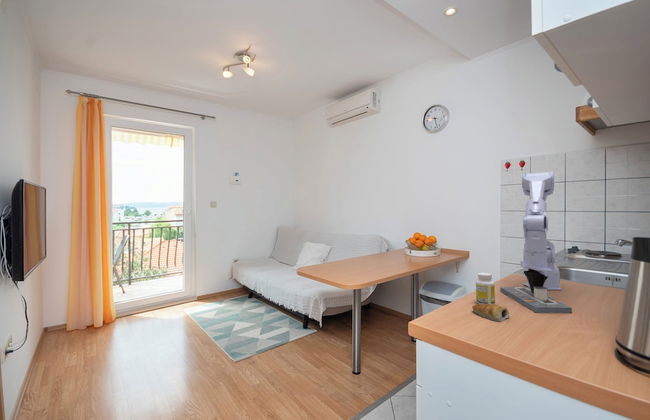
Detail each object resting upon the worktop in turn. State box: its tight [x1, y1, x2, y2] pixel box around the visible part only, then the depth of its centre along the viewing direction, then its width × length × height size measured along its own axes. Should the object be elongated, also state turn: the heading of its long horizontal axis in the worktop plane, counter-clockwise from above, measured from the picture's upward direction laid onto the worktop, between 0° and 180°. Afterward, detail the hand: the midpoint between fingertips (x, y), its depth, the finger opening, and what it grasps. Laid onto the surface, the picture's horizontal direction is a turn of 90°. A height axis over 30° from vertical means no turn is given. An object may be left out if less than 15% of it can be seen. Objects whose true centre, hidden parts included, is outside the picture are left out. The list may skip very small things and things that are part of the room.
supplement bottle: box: [475, 272, 496, 305], centre depth 99 cm, size 5×5×10 cm
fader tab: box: [534, 287, 548, 301], centre depth 95 cm, size 3×3×4 cm
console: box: [499, 286, 573, 314], centre depth 100 cm, size 10×22×2 cm, turn 174°
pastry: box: [471, 303, 510, 322], centre depth 88 cm, size 9×7×4 cm
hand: (536, 293), depth 97 cm, fingers closed
